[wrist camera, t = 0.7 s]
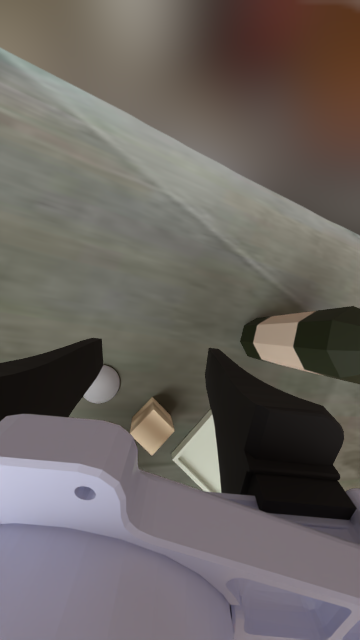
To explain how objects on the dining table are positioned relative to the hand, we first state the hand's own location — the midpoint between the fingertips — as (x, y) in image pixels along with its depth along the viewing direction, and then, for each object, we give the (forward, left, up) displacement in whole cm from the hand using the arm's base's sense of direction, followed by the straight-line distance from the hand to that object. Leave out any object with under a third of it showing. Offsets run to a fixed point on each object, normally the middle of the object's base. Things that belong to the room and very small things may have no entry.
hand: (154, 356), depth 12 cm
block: (-8, -10, -20) cm, 23 cm away
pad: (-10, 0, -19) cm, 22 cm away
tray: (-4, -23, -19) cm, 30 cm away
